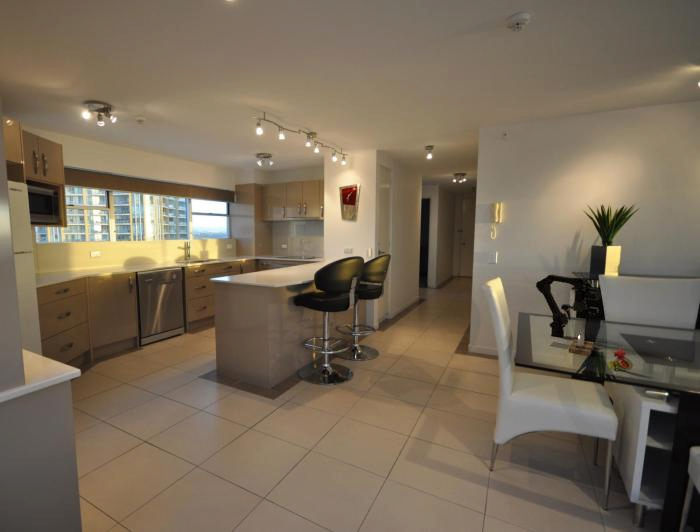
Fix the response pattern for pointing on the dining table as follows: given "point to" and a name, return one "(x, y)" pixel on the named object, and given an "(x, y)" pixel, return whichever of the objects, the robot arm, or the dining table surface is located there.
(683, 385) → the dining table surface
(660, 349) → the dining table surface
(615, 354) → the bird rattle
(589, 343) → the hole block
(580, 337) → the peg
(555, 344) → the mat
